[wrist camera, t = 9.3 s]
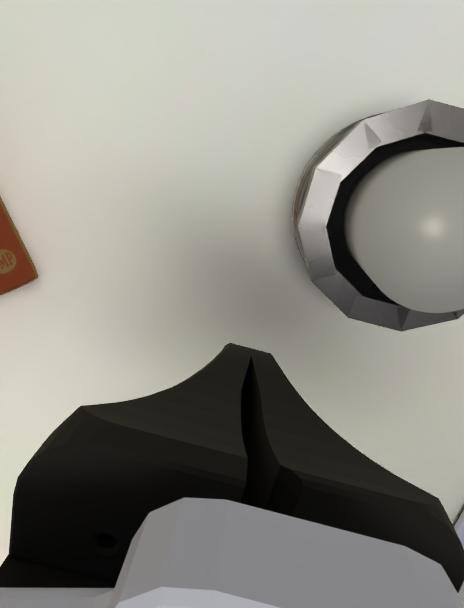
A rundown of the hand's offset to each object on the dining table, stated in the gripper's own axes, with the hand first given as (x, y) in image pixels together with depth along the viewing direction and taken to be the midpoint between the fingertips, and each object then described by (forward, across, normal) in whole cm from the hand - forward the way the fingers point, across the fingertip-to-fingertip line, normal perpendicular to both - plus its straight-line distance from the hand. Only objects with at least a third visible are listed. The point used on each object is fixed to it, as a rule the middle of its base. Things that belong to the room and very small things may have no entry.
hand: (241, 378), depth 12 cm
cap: (+6, -5, -5) cm, 10 cm away
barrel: (+10, -5, -5) cm, 13 cm away
